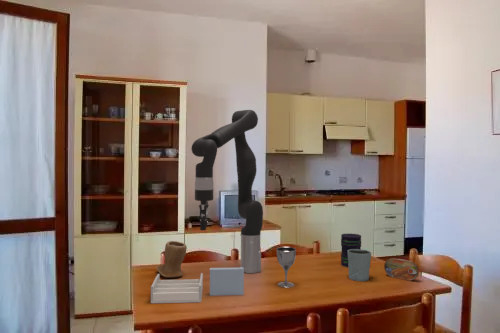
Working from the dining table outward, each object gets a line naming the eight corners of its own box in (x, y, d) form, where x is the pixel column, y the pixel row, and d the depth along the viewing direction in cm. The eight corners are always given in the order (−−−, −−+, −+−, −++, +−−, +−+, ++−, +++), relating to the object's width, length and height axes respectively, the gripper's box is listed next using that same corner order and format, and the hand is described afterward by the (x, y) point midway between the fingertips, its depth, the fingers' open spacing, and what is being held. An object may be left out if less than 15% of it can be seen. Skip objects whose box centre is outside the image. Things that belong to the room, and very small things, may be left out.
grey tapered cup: (343, 278, 173) (343, 251, 173) (354, 273, 180) (354, 247, 180) (364, 283, 166) (364, 255, 166) (375, 278, 173) (375, 251, 173)
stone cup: (189, 277, 173) (189, 243, 173) (162, 280, 168) (162, 245, 168) (180, 269, 187) (180, 237, 186) (155, 271, 182) (155, 239, 181)
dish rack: (202, 287, 159) (202, 273, 159) (201, 302, 142) (201, 285, 142) (157, 288, 157) (157, 273, 157) (150, 303, 141) (150, 286, 141)
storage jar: (363, 264, 197) (364, 234, 197) (357, 268, 189) (358, 237, 189) (344, 261, 202) (344, 232, 202) (337, 265, 194) (338, 235, 194)
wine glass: (297, 283, 166) (297, 247, 166) (293, 288, 158) (293, 251, 158) (279, 281, 168) (279, 246, 168) (274, 286, 161) (274, 250, 161)
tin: (383, 275, 178) (383, 257, 178) (386, 274, 180) (387, 255, 180) (417, 282, 167) (417, 263, 167) (420, 281, 170) (420, 261, 170)
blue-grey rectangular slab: (243, 292, 153) (243, 267, 153) (243, 295, 151) (243, 269, 151) (209, 293, 152) (210, 267, 152) (209, 295, 150) (209, 269, 149)
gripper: (212, 189, 152) (212, 231, 152) (214, 187, 166) (213, 225, 166) (193, 189, 152) (192, 231, 152) (196, 187, 166) (196, 225, 166)
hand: (203, 228), depth 159 cm, fingers open, 8 cm apart
